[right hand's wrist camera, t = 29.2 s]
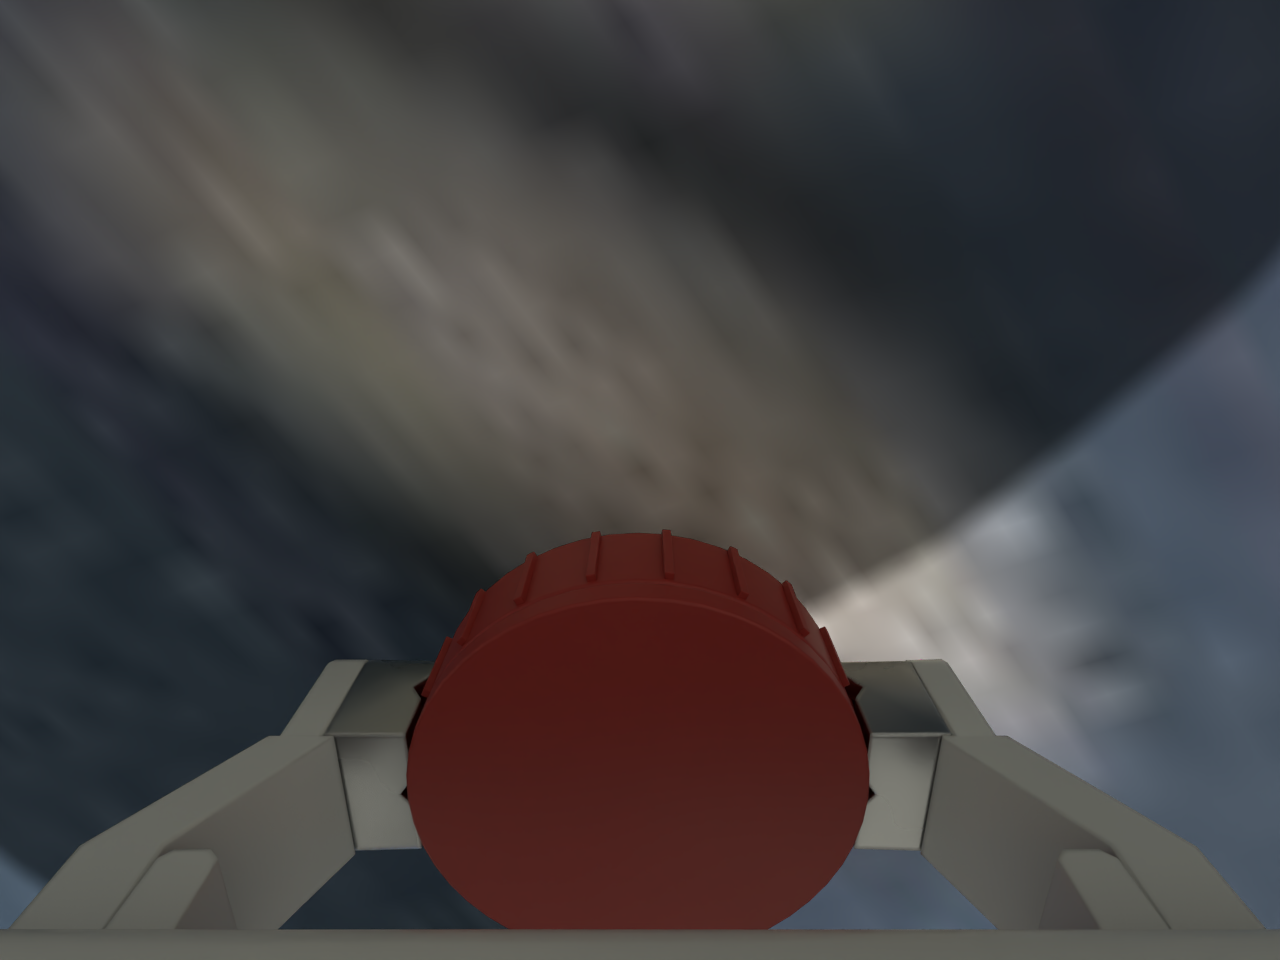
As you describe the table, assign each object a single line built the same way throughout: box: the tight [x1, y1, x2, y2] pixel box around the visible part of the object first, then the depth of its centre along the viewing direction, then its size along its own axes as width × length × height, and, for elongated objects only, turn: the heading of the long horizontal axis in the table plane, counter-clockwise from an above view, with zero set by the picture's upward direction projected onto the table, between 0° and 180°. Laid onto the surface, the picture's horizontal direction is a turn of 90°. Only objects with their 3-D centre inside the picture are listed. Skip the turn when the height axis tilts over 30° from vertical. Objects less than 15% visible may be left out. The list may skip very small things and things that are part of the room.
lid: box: [406, 530, 870, 930], centre depth 10 cm, size 6×6×2 cm
